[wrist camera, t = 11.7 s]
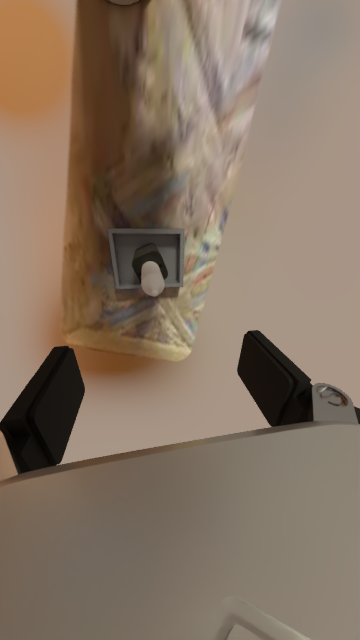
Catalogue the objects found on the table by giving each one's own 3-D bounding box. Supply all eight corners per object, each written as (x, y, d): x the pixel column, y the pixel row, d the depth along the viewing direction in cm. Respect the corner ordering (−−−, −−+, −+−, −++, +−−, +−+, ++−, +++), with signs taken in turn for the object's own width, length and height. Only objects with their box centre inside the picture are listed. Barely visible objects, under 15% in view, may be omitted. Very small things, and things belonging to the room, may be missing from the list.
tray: (110, 228, 39) (107, 228, 36) (181, 228, 42) (184, 229, 38) (118, 284, 45) (115, 289, 41) (180, 282, 47) (183, 286, 44)
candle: (163, 263, 44) (184, 304, 22) (142, 271, 44) (143, 321, 22) (154, 241, 41) (167, 262, 19) (132, 250, 41) (121, 282, 19)
